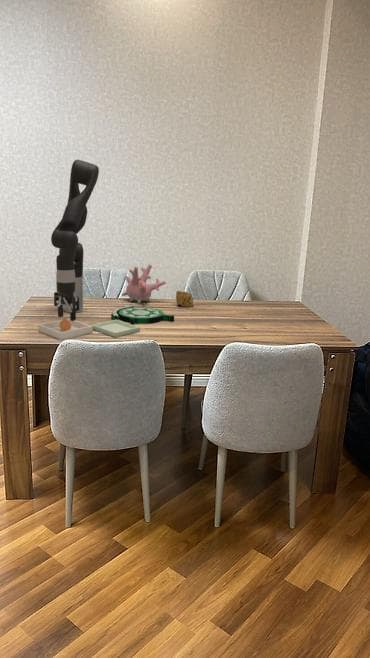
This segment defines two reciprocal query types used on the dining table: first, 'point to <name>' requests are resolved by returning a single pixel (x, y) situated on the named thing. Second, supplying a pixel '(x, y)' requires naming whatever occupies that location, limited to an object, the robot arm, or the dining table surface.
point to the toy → (140, 285)
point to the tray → (115, 328)
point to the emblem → (140, 315)
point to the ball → (65, 325)
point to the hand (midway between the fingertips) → (66, 318)
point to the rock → (184, 299)
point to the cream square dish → (56, 332)
